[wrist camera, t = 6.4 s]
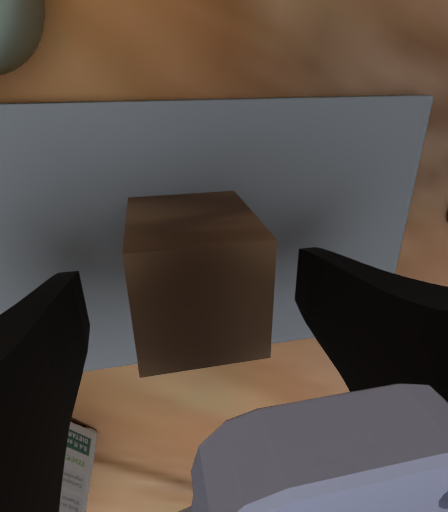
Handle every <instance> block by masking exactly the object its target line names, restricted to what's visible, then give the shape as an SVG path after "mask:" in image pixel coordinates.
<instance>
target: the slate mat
mask: <svg viewBox="0 0 448 512" xmlns="http://www.w3.org/2000/svg"><path fill="white" fill-rule="evenodd" d="M433 97H434V95H380V96H331V97H282V98H234V99H185V100H136V101H87V102H39V103H0V314H2V313H3V312H5V311H6V310H8V309H9V308H10V307H12V306H13V305H15V304H16V303H18V302H19V301H20V300H22V299H23V298H24V297H25V296H27V295H28V294H29V293H31V292H32V291H33V290H35V289H36V288H37V287H39V286H40V285H41V284H42V283H44V282H45V281H46V280H48V279H49V278H50V277H52V276H53V275H55V274H57V273H60V272H70V271H79V274H80V279H81V284H82V289H83V293H84V298H85V303H86V308H87V313H88V317H89V322H90V333H89V344H88V353H87V357H86V361H85V365H84V369H83V371H90V370H97V369H104V368H110V367H117V366H124V365H131V364H137V363H138V361H137V355H136V348H135V341H134V334H133V327H132V320H131V313H130V306H129V299H128V292H127V285H126V278H125V271H124V264H123V257H122V250H123V241H124V231H125V222H126V212H127V203H128V198H129V197H144V196H159V195H175V194H190V193H206V192H221V191H235V192H236V193H237V195H238V196H239V197H240V198H241V199H242V200H243V201H244V202H245V204H246V205H247V206H248V207H249V208H250V209H251V210H252V212H253V213H254V214H255V215H256V216H257V217H258V218H259V220H260V221H261V222H262V223H263V224H264V225H265V226H266V227H267V229H268V230H269V231H270V232H271V233H272V234H273V235H274V237H275V238H276V239H277V254H276V271H275V287H274V304H273V321H272V338H271V344H272V343H279V342H286V341H292V340H299V339H306V338H313V337H315V336H314V335H313V333H312V332H311V330H310V329H309V327H308V326H307V324H306V323H305V321H304V319H303V317H302V315H301V313H300V311H299V308H298V306H297V304H296V302H295V288H296V277H297V265H298V253H299V249H301V248H311V247H318V248H322V249H326V250H329V251H332V252H335V253H337V254H340V255H343V256H345V257H348V258H351V259H353V260H356V261H359V262H361V263H364V264H367V265H370V266H372V267H375V268H378V269H381V270H384V271H387V272H390V273H394V274H395V271H396V267H397V262H398V258H399V253H400V248H401V244H402V239H403V235H404V230H405V225H406V221H407V216H408V212H409V207H410V203H411V198H412V193H413V189H414V184H415V180H416V175H417V171H418V166H419V161H420V157H421V152H422V148H423V143H424V138H425V134H426V129H427V125H428V120H429V116H430V111H431V106H432V102H433Z"/></svg>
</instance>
